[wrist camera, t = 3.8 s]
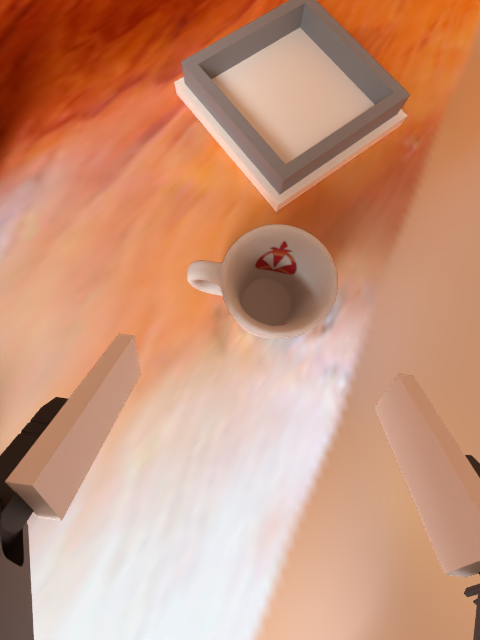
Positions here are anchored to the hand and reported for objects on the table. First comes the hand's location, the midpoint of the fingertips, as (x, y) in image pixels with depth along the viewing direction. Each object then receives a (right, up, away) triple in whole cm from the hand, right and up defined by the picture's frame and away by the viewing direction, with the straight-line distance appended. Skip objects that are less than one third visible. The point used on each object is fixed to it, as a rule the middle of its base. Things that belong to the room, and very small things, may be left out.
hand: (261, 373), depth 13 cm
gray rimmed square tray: (+4, +26, +15) cm, 31 cm away
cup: (0, +5, +12) cm, 13 cm away
